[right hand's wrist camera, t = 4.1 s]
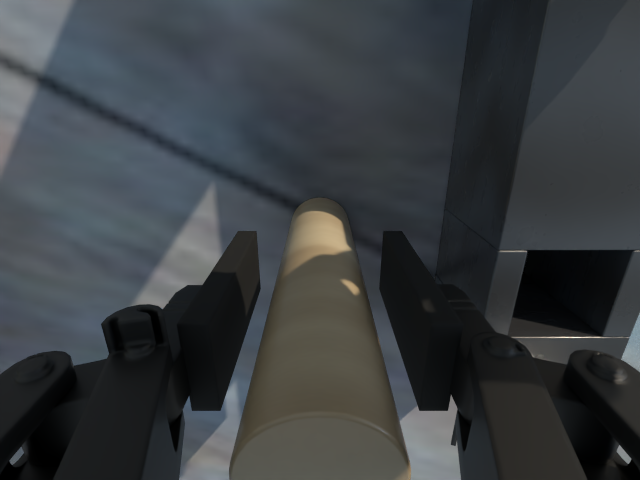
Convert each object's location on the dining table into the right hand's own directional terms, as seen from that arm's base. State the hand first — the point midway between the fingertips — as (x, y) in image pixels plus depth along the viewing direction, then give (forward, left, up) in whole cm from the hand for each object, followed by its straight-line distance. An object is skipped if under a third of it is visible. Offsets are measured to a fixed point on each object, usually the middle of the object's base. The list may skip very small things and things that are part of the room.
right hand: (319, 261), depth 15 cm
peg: (0, 0, -5) cm, 5 cm away
